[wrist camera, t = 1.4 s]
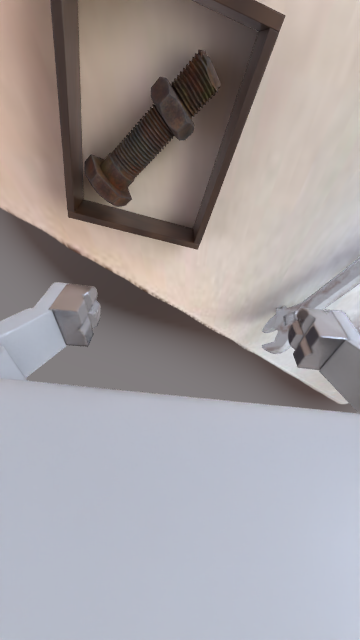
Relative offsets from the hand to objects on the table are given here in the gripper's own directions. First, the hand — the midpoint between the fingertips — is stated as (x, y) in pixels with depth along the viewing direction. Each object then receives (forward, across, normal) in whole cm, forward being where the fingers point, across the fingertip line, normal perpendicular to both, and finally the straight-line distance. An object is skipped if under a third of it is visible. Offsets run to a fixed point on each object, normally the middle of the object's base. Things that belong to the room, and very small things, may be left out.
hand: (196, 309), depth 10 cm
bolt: (+25, +6, -3) cm, 26 cm away
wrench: (+29, -24, +15) cm, 40 cm away
